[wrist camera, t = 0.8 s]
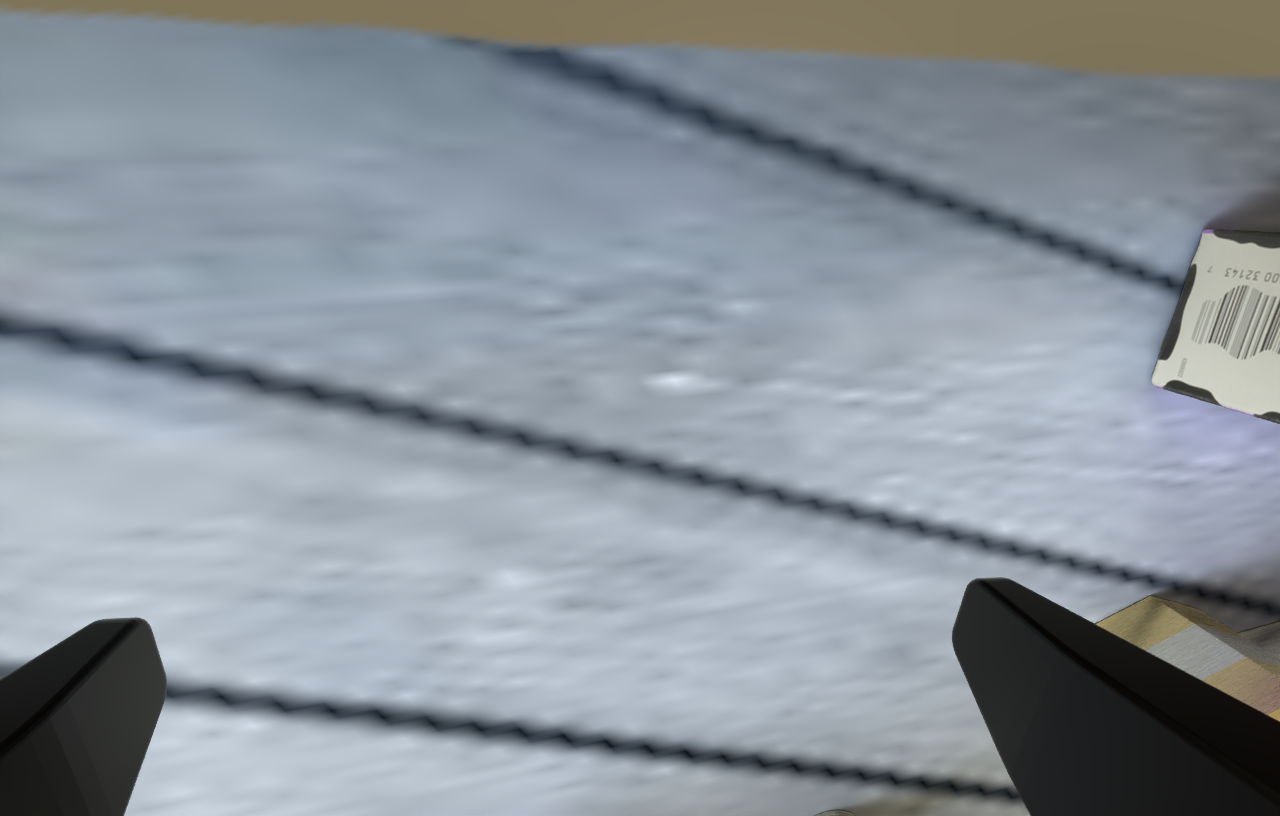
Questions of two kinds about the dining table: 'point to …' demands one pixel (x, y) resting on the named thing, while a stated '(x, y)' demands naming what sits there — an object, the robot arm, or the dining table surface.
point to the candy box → (1228, 325)
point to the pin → (836, 813)
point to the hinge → (1207, 649)
